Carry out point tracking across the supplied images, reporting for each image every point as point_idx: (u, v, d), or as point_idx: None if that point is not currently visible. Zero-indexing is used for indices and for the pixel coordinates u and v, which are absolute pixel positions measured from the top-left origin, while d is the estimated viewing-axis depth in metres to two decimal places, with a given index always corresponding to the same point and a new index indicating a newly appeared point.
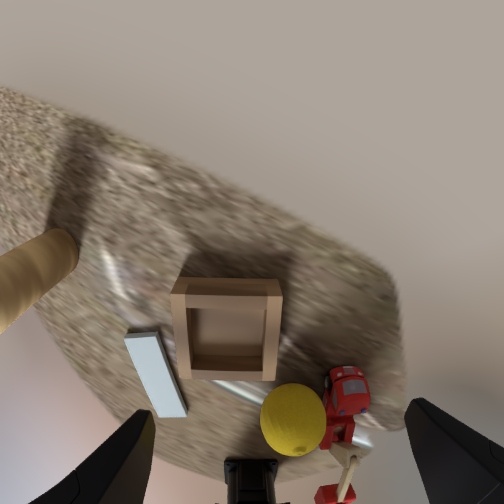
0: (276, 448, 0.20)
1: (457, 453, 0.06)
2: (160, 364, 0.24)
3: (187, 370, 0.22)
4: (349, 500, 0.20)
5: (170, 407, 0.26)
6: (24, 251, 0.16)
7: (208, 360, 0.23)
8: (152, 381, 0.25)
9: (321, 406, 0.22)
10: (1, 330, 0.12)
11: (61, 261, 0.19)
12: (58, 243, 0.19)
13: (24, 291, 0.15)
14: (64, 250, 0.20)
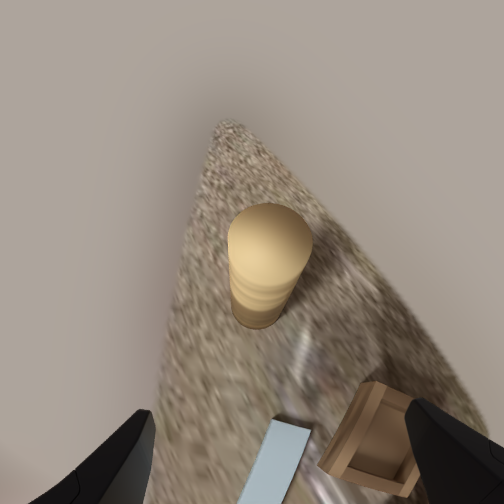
0: None
1: (457, 453, 0.06)
2: (291, 463, 0.18)
3: (342, 466, 0.16)
4: None
5: None
6: None
7: (354, 468, 0.17)
8: (263, 480, 0.17)
9: None
10: (287, 279, 0.14)
11: None
12: None
13: None
14: None
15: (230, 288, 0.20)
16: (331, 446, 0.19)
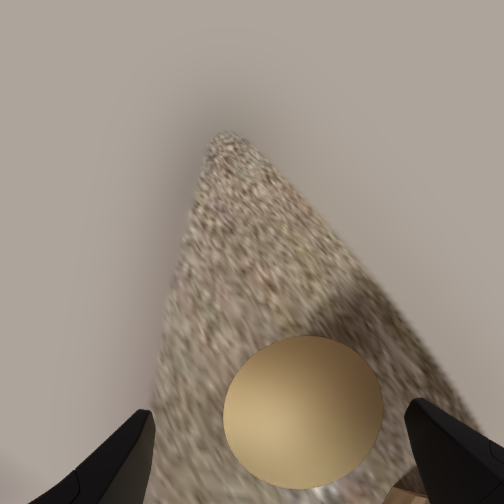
0: None
1: (457, 453, 0.06)
2: None
3: None
4: None
5: None
6: None
7: None
8: None
9: None
10: None
11: None
12: None
13: None
14: None
15: None
16: None
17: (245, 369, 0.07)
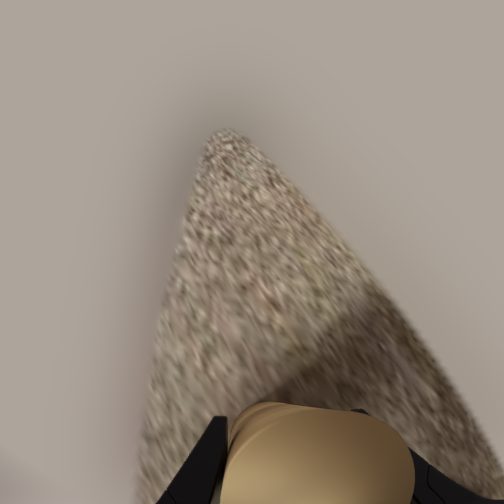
0: None
1: None
2: None
3: None
4: None
5: None
6: None
7: None
8: None
9: None
10: None
11: None
12: None
13: None
14: None
15: None
16: None
17: (247, 455, 0.05)
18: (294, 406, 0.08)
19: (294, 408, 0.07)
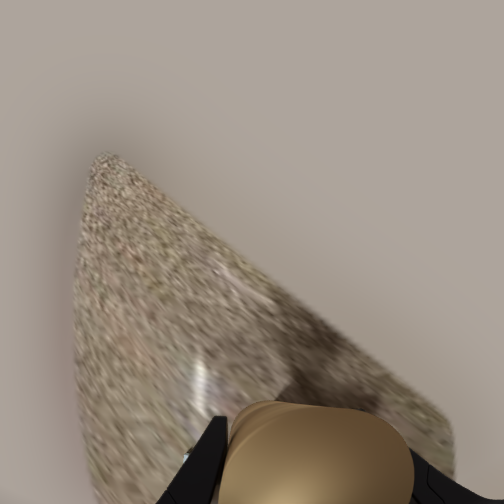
0: None
1: None
2: None
3: None
4: None
5: None
6: None
7: None
8: None
9: None
10: None
11: None
12: None
13: None
14: None
15: None
16: None
17: (245, 453, 0.05)
18: (293, 404, 0.08)
19: (293, 406, 0.07)
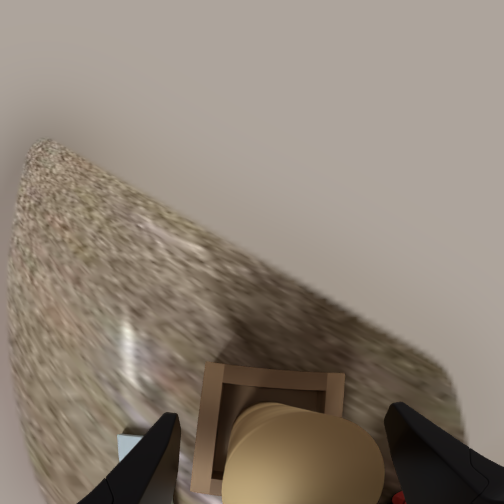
0: None
1: (435, 462, 0.06)
2: None
3: (205, 480, 0.12)
4: None
5: None
6: None
7: None
8: None
9: None
10: None
11: None
12: None
13: None
14: None
15: None
16: None
17: (244, 449, 0.06)
18: (285, 407, 0.09)
19: (285, 410, 0.08)
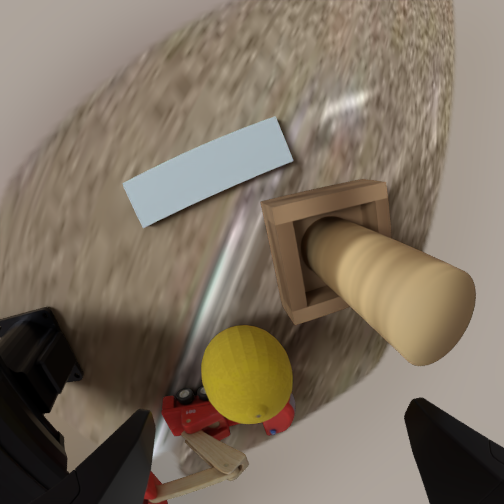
0: (241, 385, 0.15)
1: (457, 453, 0.06)
2: (247, 171, 0.18)
3: (289, 216, 0.17)
4: None
5: (156, 198, 0.17)
6: None
7: None
8: (206, 162, 0.17)
9: None
10: (398, 351, 0.10)
11: None
12: None
13: None
14: None
15: (353, 237, 0.15)
16: (291, 195, 0.19)
17: (463, 274, 0.09)
18: None
19: None
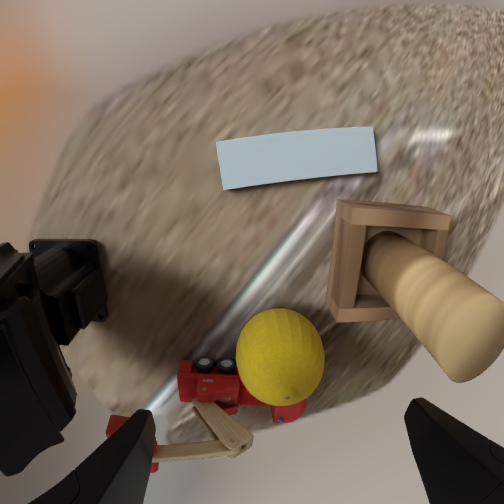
0: (281, 364, 0.15)
1: (457, 453, 0.06)
2: (335, 168, 0.18)
3: (364, 220, 0.17)
4: None
5: (245, 166, 0.18)
6: None
7: None
8: (301, 148, 0.18)
9: None
10: (441, 363, 0.10)
11: None
12: None
13: None
14: None
15: (418, 254, 0.15)
16: (366, 202, 0.19)
17: None
18: None
19: None
